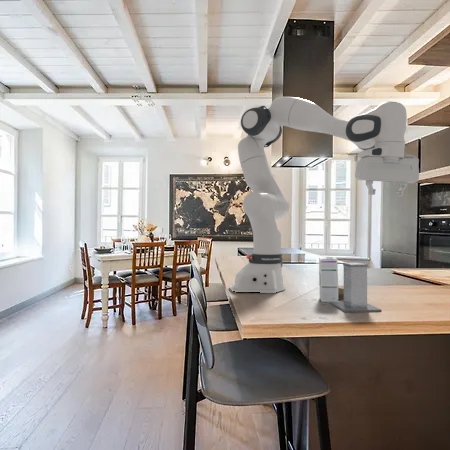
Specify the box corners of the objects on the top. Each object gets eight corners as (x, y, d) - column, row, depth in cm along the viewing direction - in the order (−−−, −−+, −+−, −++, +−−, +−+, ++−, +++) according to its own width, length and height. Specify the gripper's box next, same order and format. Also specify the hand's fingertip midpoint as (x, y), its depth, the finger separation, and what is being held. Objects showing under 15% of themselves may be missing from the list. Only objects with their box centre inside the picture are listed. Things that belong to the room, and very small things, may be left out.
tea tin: (351, 308, 97) (351, 264, 97) (343, 304, 102) (343, 262, 102) (367, 307, 98) (367, 264, 98) (358, 303, 103) (358, 262, 103)
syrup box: (338, 302, 107) (338, 258, 107) (320, 302, 108) (320, 258, 108) (336, 298, 112) (336, 257, 112) (318, 298, 113) (318, 256, 113)
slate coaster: (345, 312, 94) (345, 310, 94) (329, 303, 105) (329, 301, 105) (381, 311, 95) (381, 309, 95) (361, 302, 106) (361, 300, 106)
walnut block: (342, 300, 110) (342, 288, 111) (333, 297, 115) (333, 286, 115) (354, 299, 112) (354, 287, 112) (345, 296, 117) (345, 285, 117)
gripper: (412, 156, 110) (409, 197, 111) (354, 152, 108) (351, 194, 109) (425, 153, 103) (421, 196, 104) (364, 149, 102) (360, 193, 103)
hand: (385, 195), depth 107 cm, fingers open, 8 cm apart
